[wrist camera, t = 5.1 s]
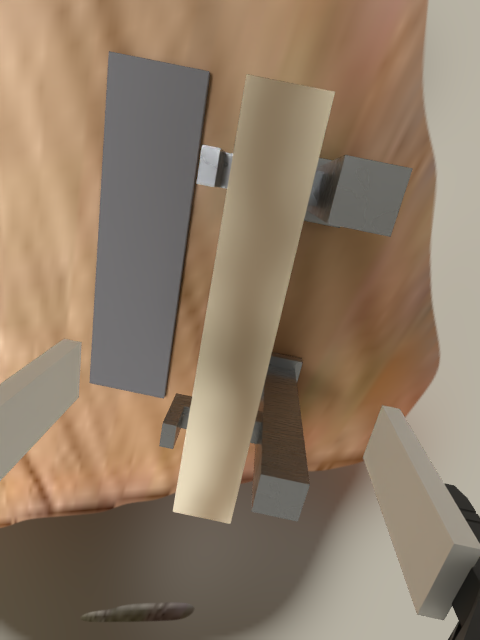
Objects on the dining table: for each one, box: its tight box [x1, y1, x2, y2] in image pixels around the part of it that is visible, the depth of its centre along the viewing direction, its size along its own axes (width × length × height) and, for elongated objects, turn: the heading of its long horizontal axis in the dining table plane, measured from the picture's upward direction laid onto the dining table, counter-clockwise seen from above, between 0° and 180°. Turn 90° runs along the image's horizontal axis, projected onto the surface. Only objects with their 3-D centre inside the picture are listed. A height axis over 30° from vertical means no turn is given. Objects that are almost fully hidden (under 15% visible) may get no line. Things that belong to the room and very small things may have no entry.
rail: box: [173, 74, 335, 524], centre depth 23 cm, size 4×26×5 cm, turn 169°
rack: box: [160, 145, 412, 521], centre depth 28 cm, size 10×23×16 cm, turn 169°
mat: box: [90, 51, 210, 398], centre depth 35 cm, size 8×30×1 cm, turn 169°
